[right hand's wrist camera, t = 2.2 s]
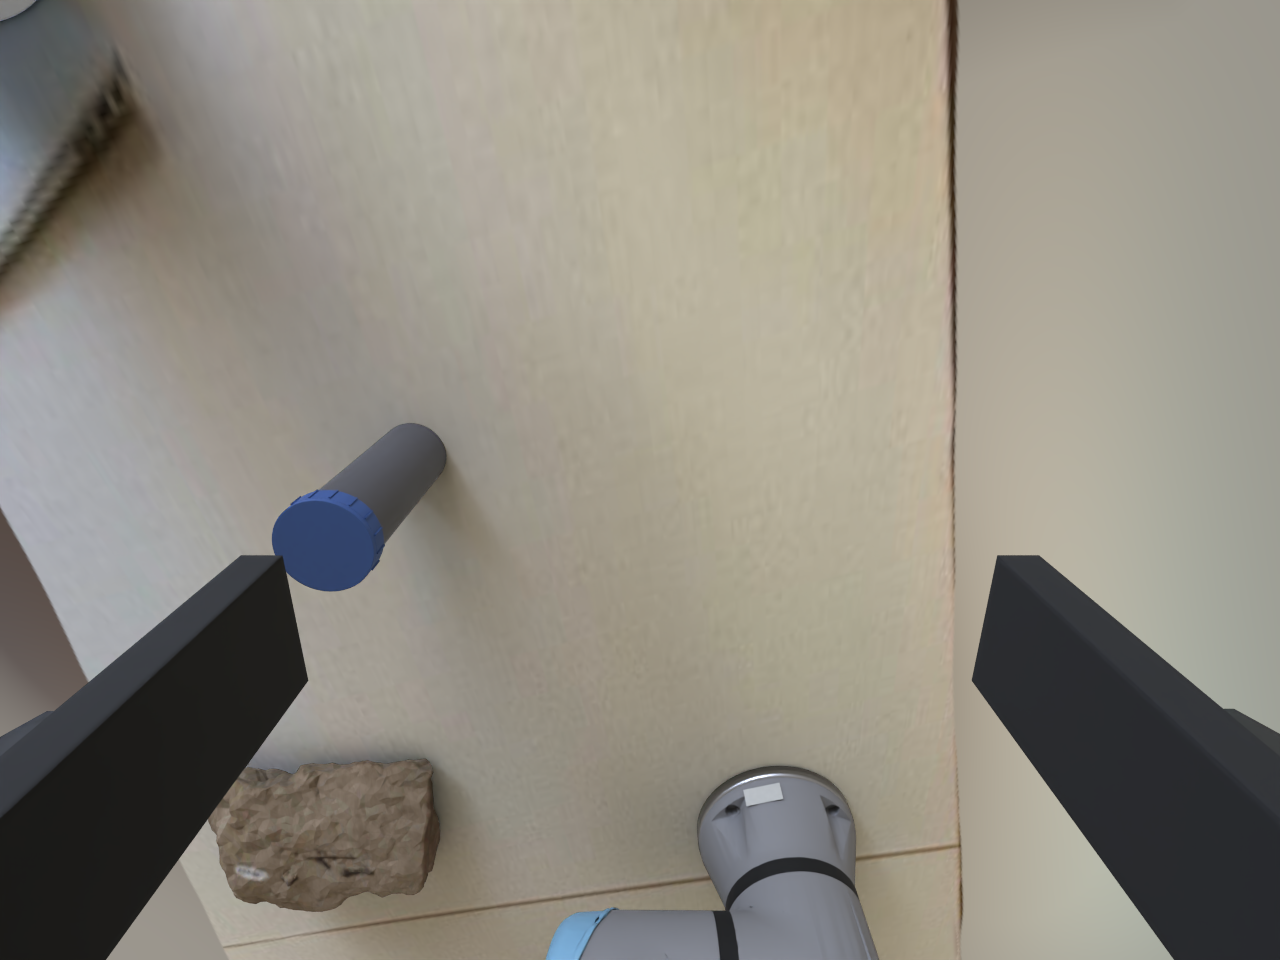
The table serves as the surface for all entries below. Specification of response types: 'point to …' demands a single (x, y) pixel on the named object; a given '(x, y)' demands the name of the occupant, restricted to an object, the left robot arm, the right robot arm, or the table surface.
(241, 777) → the stone
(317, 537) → the lid
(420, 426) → the dark grey bottle
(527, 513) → the table surface
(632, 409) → the table surface
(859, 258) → the table surface
